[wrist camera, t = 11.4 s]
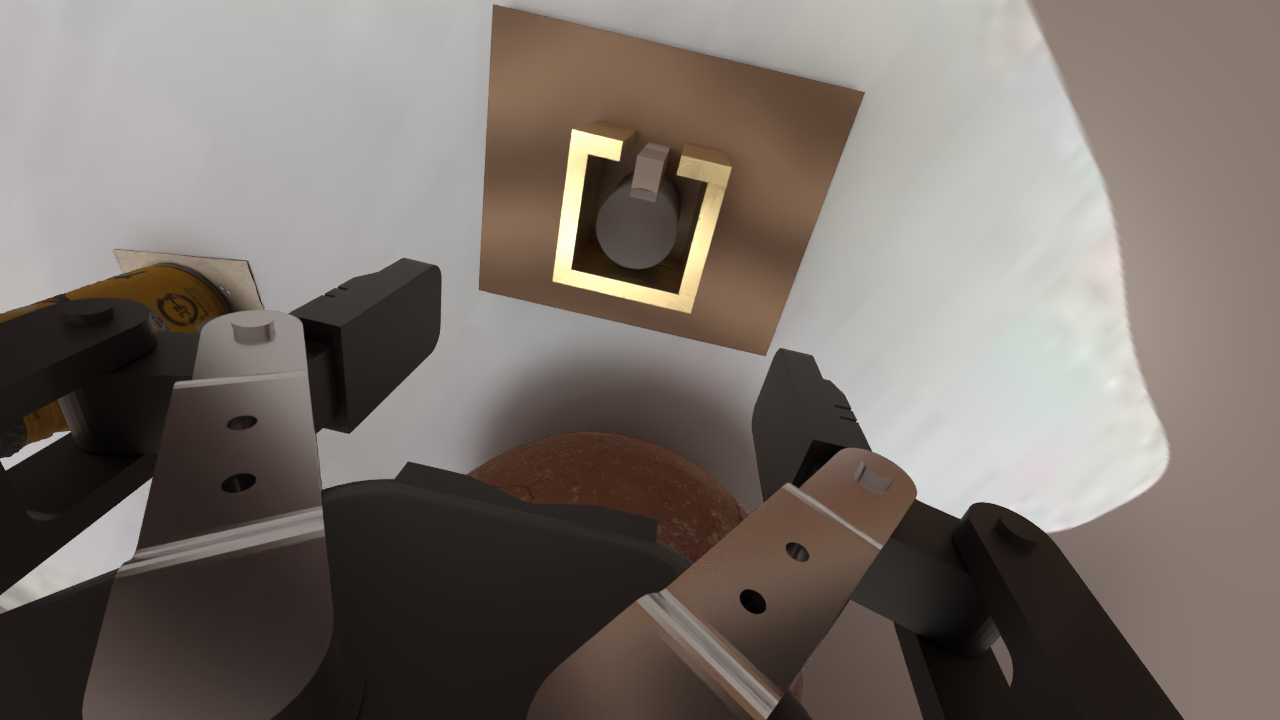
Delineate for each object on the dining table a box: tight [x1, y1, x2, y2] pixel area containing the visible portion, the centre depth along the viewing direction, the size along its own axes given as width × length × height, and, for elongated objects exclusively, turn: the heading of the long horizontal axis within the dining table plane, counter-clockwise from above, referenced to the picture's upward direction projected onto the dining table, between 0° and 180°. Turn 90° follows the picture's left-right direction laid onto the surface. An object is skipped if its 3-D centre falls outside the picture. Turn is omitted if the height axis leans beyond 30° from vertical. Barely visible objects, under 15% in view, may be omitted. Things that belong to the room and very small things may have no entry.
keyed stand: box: [479, 4, 865, 356], centre depth 23 cm, size 13×16×6 cm
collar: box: [553, 121, 732, 314], centre depth 22 cm, size 6×6×5 cm
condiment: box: [0, 250, 264, 458], centre depth 27 cm, size 7×8×12 cm
